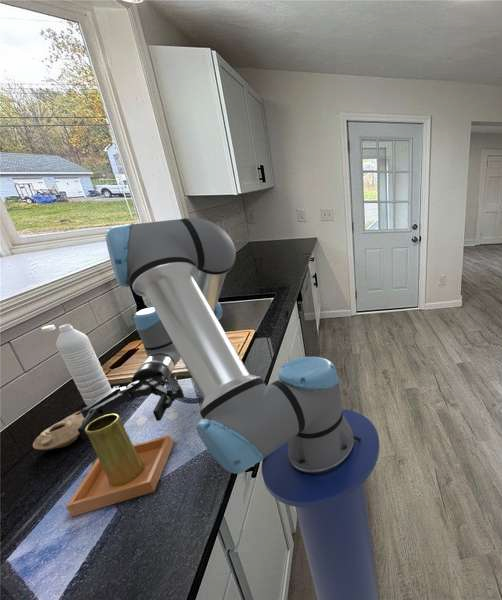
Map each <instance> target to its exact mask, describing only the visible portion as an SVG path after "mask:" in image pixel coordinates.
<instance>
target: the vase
mask: <svg viewBox="0 0 502 600" xmlns="http://www.w3.org/2000/svg"><path fill="white" fill-rule="evenodd" d="M85 432H86V433H87V435H88V439H89V441H90V443H91V445H92V448H93V450H94V452H95V455H96V457H97V458H98V459H99V461H100V463H101V465H102V467H103V470H104V472H105V474H106V475H107V477H108V481H109V484H110V485H112V486H118V485H122V484H125V483H127V482H129V481H131V480H133V479H134V478H136V477H137V476H138V475H139V474H140V473H141V472H142V470H143V469H144V463H143V462H142V460H141V458H140V456H139V455H138V453H137V451H136V449H135V448H134V446H133V445H134V444H133V441H132V440H131V437H130V436H129V435H128V433H127V431H126V428H125V425H124V424H123V421H122V419H121V418H120V415H119V414H117V413H109V414H108V413H107V414H104V415H103V416H101V417H99V418H97V419H95V420H94V421H92V422H90V423H89V424H88V425H87V426H86V428H85Z"/></svg>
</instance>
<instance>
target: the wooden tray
mask: <svg viewBox="0 0 502 600" xmlns="http://www.w3.org/2000/svg"><path fill="white" fill-rule="evenodd" d="M133 446H134V448H135V449H136V451H137V453H138V455H139V456H140V458H141V460H142V462H143V463H144V469H143V470H142V472H141V473H140V474H139V475H138V476H137V477H136V478H134V479H133V480H131V481H129V482H127V483H125V484H122V485H118V486H112V485H110V484H109V481H108V477H107V475H106V474H105V472H104V470H103V467H102V465H101V463H100V461H99V459H98V457H97V459H96V460H95V461H94V463H93V465H92V466H91V468H90V469H89V471H88V472H87V474H85V476H84V478H83V480H82V481H81V483H80V484H79V486H78V487H77V488H76V490H75V491H74V493H73V495H72V497H71V498H70V500H68V502H67V504H66V505H65V508H66V509H67V511H68V513H69V514H70V516H71V517H75V516H78V515H82V514H85V513H89V512H92V511H95V510H98V509H102V508H105V507H108V506H112V505H115V504H118V503H121V502H124V501H128V500H131V499H135V498H138V497H141V496H144V495H148V494H152V493H154V492H155V491H156V488H157V486H158V483H159V481H160V478H161V476H162V474H163V471H164V469H165V466H166V463H167V461H168V459H169V456H170V454H171V451H172V449H173V446H174V442H173V440H172V437H171V434H170V435H165V436H162V437H158V438H153V439H150V440H145V441H143V442H139V443H135V444H133Z"/></svg>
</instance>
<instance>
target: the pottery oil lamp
mask: <svg viewBox="0 0 502 600" xmlns="http://www.w3.org/2000/svg"><path fill="white" fill-rule="evenodd" d="M83 419H84V417H83V415H82V413H81V410H79V411H76V412H74V413H72V414H71V415H69V416H67V417H65V418H64V419H62V420H60V421H58V422H56V423H54V424H53V425H51V426H50V427H48V428H46V429H45V430H42V432H41V433H40V434H39V435H38V436H37V437H36V438H35V440H34V441H33V443H32V448H33V449H34V450H37V451H49V450H55V449H61V448H66V447H68V446H70V445H71V444H73V443H74V442H75V441H76V440H77V439H78V437H79V436H80V433H79V432H78V428H79V427H80V426H81V425H82V421H83Z"/></svg>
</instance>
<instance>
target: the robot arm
mask: <svg viewBox="0 0 502 600" xmlns="http://www.w3.org/2000/svg"><path fill="white" fill-rule="evenodd" d="M104 235H105V236H104V237H105V242H106V246H107V252H108V255H109V256H108V257H109V260H110V263H111V267H112V271H113V274H114V277H115V280H116V282H117V284H118V286H119V287H122V288H123V287H126V288H129V287H131V288H132V290H133V292H134V293H135V294H136V295H137V296H140V297H144V298H147V299H148V301H150V303H151V305H152V307H146V308H143V309H140V310H138V311H137V312H135V313H134V315H133V321H134V324H135V327H136V328H135V330H136V331H137V333H138V336H139V338H140V340H141V343H142V345H143V349H144V351H145V354H146V356H147V357H146V358H145V360H144V361H143V363H141V365H140V366H139V368H138V369H137V371H136V372H135V373H134V374H133V376H132V378H131V382H130V383H129V384H127V385H126V386H122V387H121V386H120V385H115V386H113V387H112V390H111V391H109V392H108V393H106V394H105V395H103V396H102V397H100V398H99V399H97V400H96V401H94V402H93V403H91V404H90V405H88V406H87V405H86V406H84V408H82V409H80V411H81V413H82V415H83V417H84V419H83V421H82V425H81V426H80V427H79V428H78V432H79V433H80V434H79V436H80V438H81V439H82V440H87V439H89V437H88V435H87V433H86V432H85V428H86V426H87V425H88V424H89V423H90V422H92V421H94V420H95V419H97V418H99V417H102V416H105V415H107V414H108V413H110V412H111V411H113V410H115V409H117V408H118V407H120V406H121V405H123V404H125V403H130V402H132V401H134V400H135V399H139V398H141V397H146V396H150V395H154V396H157V397H160V398H159V400H158V402H157V404H156V405H155V407H154V409H153V410H152V413H153V415H154V418H155V421H156V422H159V421H160V422H161V421H162V419H163V417H164V415H165V412H166V411H167V409H170V408H171V407H172V404H173V402H174V401H176V399H183V398H184V397H185V394H184V391H183V389H182V387H181V385H180V384H179V381H178V379H177V376H176V374H175V373H173V371H174V369H175V368H176V365H177V364H178V362H179V361H181V360H182V362H183V364H184V366H185V368H186V370H187V372H188V373H189V375H190V377H191V378H192V380H193V382H194V384H195V386H196V388H197V390H198V392H199V393H200V394H201V397H202V399H203V400H202V403H201V406H200V408H199V410H198V412H199V415H200V416H201V418H202V419H200V420H199V421H198V423H197V424H196V427H195V429H196V432H197V435H198V436H199V437H200V439H201V441H202V444H203V445H204V447H205V448H206V449H207V451H208V452H209V454H210V455H211V456H212V457H213V459H214V460H215V461H216V462H217V463H218V464H219V465H220V466H221V467H222V468H223V469H224V470H225V471H227V472H229V473H231V474H235V475H236V474H242V473H244V472H245V471H247V470H249V469H250V468H252V467H254V466H255V465H257V464H258V463H262V460H263V459H264V458H265V457H267V456H268V455H270V454H271V453H272V452H274V451H275V450H277V449H278V448H279V447H281V446H282V445H284V444H285V443H286V442H288V441H289V445H288V457H289V461H290V464H291V466H292V467H293V468H294V469H295V470H296V471H297V472H299V473H302V474H305V475H321V474H325V473H328V472H331V471H333V470H335V469H337V468H338V467H340V466H341V465H342V464H343V463H345V462H346V461H347V459H348V458H349V457H350V455H351V453H352V451H353V449H354V439H355V440H358V441H360V440H361V438H359V437H356V436H354V435H353V431H352V429H351V427H350V425H349V424H348V422H347V421H346V419H345V417H344V416H343V412H342V409H343V405H342V400H341V399H342V398H341V392H340V385H339V382H340V378H339V377H338V372H337V368H336V366H335V364H334V363H333V362H332V361H330V360H329V359H327V358H324V357H320V356H303V357H297V358H293V359H291V360H289V361H287V362H285V363H284V364H283V365H282V366H281V367H280V368H279V369H278V379H277V380H274V381H273V382H272V383H269V384H266V383H265V381H264V379H263V378H262V377H261V376H258V375H253V374H250V372H249V371H248V369H247V367H246V366H245V363H244V362H243V360H242V359H241V356H240V355H239V353H238V352H237V350H236V348H235V347H234V344H233V343H232V341H231V339H230V338H229V336H228V334H227V333H226V331H225V329H224V328H223V326H222V324H221V322H220V321H219V320H221V319H222V318H223V308H222V306H221V304H220V302H219V299H220V298H219V297H220V295H221V291H222V289H223V285H224V281H225V279H226V276H227V273H229V272H230V271H231V270H232V269H233V267H234V264H235V261H236V255H237V254H236V253H237V251H236V247H235V245H234V242H233V240H232V238H231V236H230V235H229V234H228V233H227V232H226V231H225V230H224V229H223V228H222V227H220V225H217V224H216V223H214V222H213V221H210V220H207V219H204V218H199V217H184V218H179V219H169V220H168V219H167V220H159V221H149V222H142V223H128V224H123V225H117V226H112V227H110V228H108V229H106V232H105V234H104ZM166 385H169V387H171V388H170V389H169V388H167V387H165V386H166ZM129 395H130V396H129Z"/></svg>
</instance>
